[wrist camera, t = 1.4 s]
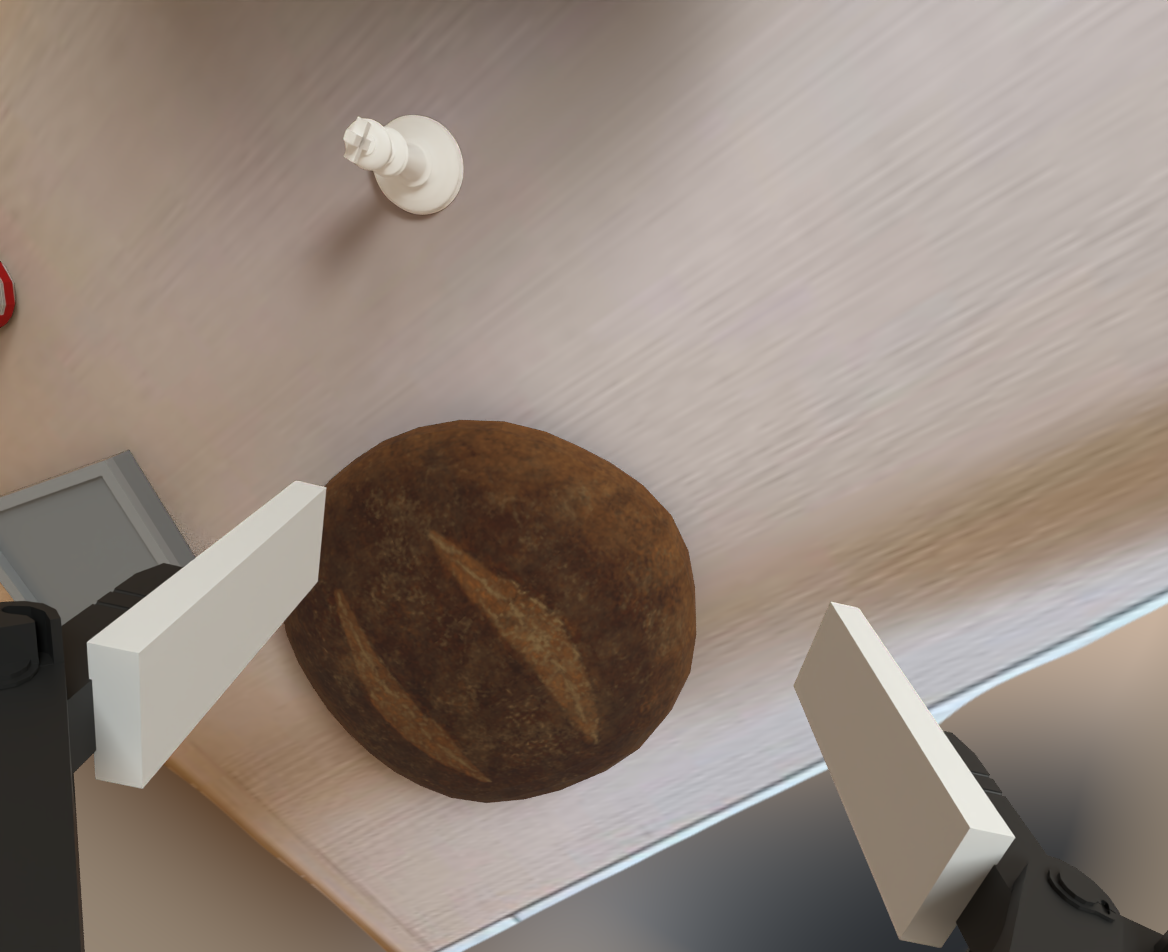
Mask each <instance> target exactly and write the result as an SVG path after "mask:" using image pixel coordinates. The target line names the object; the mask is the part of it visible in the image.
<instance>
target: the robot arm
mask: <svg viewBox="0 0 1168 952" xmlns="http://www.w3.org/2000/svg"><path fill="white" fill-rule="evenodd" d="M325 497H326V487H323V486H318V485H314V484H310V483H305V482H301V481H294V482H293V483H292V484H290V485H289V486H288V487H286V488H285V489H284V490H283V491H281V492H280V493H279V494H277V495H276V496H275V497H274V498H272V499H271V500H270V501H268V502H267V503H266V504H265V505H263V506H262V507H261V508H259V509H258V510H257V511H255V512H254V513H253V514H252V515H250V516H249V517H248V518H246V519H245V520H244V521H243V522H241V523H240V524H239V525H237V526H236V527H235V528H234V529H232V530H231V531H230V532H228V533H227V534H226V535H225V536H223V537H222V538H221V539H219V540H218V541H217V542H215V543H214V544H213V545H212V546H210V547H209V548H208V549H206V550H205V551H204V552H203V553H201V554H200V555H199V556H197V557H196V558H195V559H194V560H192V561H191V562H190V563H188V564H187V565H186V566H185V567H180V566H176V565H171V564H166V563H162V564H160V565H157V566H154V567H151V568H149V569H146V570H143V571H141V572H138V573H135V574H134V575H133V576H131V577H130V578H128V579H127V580H125V581H124V582H123V583H121V584H120V585H118V586H117V587H116V588H114V591H113V592H111V591H110V592H109V593H107V594H106V595H104V596H103V597H101V598H100V599H99V600H97V603H96V604H92V605H90V606H89V607H87V608H86V609H85V610H83V611H82V612H80V613H79V614H78V615H76V616H75V617H73V618H72V619H70V620H69V621H68V622H66V623H65V624H63V625H62V626H61V617H60V616H59V614H58V612H57V610H56V609H54V608H52V607H50V606H48V605H46V604H44V603H38V602H30V601H12V602H0V952H85V949H84V935H83V934H84V933H83V917H82V900H81V885H80V868H79V852H78V836H77V819H76V803H75V787H74V774H73V773H74V772H75V771H76V770H77V769H78V768H79V767H80V766H81V765H82V764H83V763H84V762H85V761H86V760H87V759H88V758H89V757H90V756H91V755H92V754H93V753H94V764H95V779H97V780H102V781H107V782H112V783H117V784H122V785H127V786H132V787H137V788H142V789H143V788H144V786H145V785H146V784H147V783H148V782H149V781H150V779H151V778H152V777H153V776H154V775H155V773H156V772H157V771H158V770H159V769H160V768H161V766H162V765H163V764H164V763H165V762H166V760H167V759H168V758H169V757H170V756H171V755H172V753H173V752H174V751H175V750H176V749H177V747H178V746H179V745H180V744H181V743H182V742H183V740H184V739H185V738H186V737H187V736H188V734H189V733H190V732H191V731H192V730H193V729H194V727H195V726H196V725H197V724H198V723H199V721H200V720H201V719H202V718H203V717H204V716H205V714H206V713H207V712H208V711H209V710H210V708H211V707H212V706H213V705H214V704H215V702H216V701H217V700H218V699H219V698H220V697H221V695H222V694H223V693H224V692H225V691H226V689H227V688H228V687H229V686H230V685H231V684H232V682H233V681H234V680H235V679H236V678H237V676H238V675H239V674H240V673H241V672H242V671H243V669H244V668H245V667H246V666H247V665H248V663H249V662H250V661H251V660H252V659H253V658H254V656H255V655H256V654H257V653H258V652H259V650H260V649H261V648H262V647H263V646H264V644H265V643H266V642H267V641H268V640H269V639H270V637H271V636H272V635H273V634H274V633H275V631H276V630H277V629H278V628H279V627H280V626H281V624H282V623H283V622H284V621H285V620H286V618H287V617H288V616H289V615H290V614H291V613H292V611H293V610H294V609H295V608H296V607H297V605H298V604H299V603H300V602H301V601H302V600H303V598H304V597H305V596H306V595H307V594H308V592H309V591H310V590H311V589H312V588H313V586H314V585H315V584H316V583H317V582H318V573H319V562H320V552H321V541H322V530H323V519H324V508H325ZM794 688H795V690H796V693H797V695H798V698H799V700H800V702H801V705H802V707H803V710H804V712H805V714H806V717H807V719H808V722H809V724H810V726H811V729H812V731H813V733H814V736H815V738H816V741H817V743H818V745H819V748H820V750H821V753H822V755H823V757H824V760H825V762H826V765H827V767H828V769H829V772H830V774H831V776H832V779H833V781H834V784H835V786H836V788H837V791H838V793H839V796H840V798H841V800H842V803H843V805H844V808H845V810H846V812H847V815H848V817H849V819H850V822H851V824H852V827H853V829H854V832H855V834H856V836H857V839H858V841H859V843H860V846H861V848H862V851H863V853H864V855H865V858H866V860H867V863H868V865H869V867H870V870H871V872H872V874H873V877H874V879H875V882H876V884H877V887H878V889H879V891H880V894H881V896H882V899H883V901H884V903H885V905H886V908H887V910H888V913H889V915H890V918H891V920H892V923H893V925H894V927H895V930H896V932H897V934H898V937H899V939H900V940H904V941H909V942H914V943H919V944H924V945H929V946H934V947H939V948H941V947H942V946H943V944H944V942H945V941H946V940H947V938H948V937H949V935H950V934H951V932H952V931H953V929H954V928H955V926H956V925H958V927H959V929H960V931H961V933H962V935H963V937H964V939H965V941H966V943H967V945H968V946H969V948H968V949H967V951H966V952H1168V931H1167V932H1166V933H1165V934H1164V935H1162V934H1160V933H1157V932H1155V931H1153V930H1151V929H1149V928H1146V927H1144V926H1142V925H1140V924H1138V923H1136V922H1134V921H1131V920H1129V919H1127V918H1125V917H1123V916H1121V915H1120V913H1119V911H1118V910H1117V908H1116V907H1115V905H1114V904H1113V902H1112V901H1111V899H1110V898H1109V897H1108V895H1107V894H1106V893H1105V892H1103V890H1102V889H1101V888H1100V887H1099V886H1098V885H1097V884H1096V883H1095V882H1094V881H1092V880H1091V879H1090V878H1089V877H1087V876H1086V875H1085V874H1083V873H1082V872H1081V871H1079V870H1078V869H1077V868H1075V867H1073V866H1071V865H1069V864H1067V863H1066V862H1064V861H1062V860H1060V859H1057V858H1054V857H1051V856H1047V854H1046V853H1045V852H1044V850H1043V849H1042V847H1041V846H1040V845H1039V843H1038V842H1037V840H1036V839H1035V837H1034V836H1033V835H1032V833H1031V832H1030V830H1029V829H1028V828H1027V826H1026V825H1025V824H1024V822H1023V821H1022V819H1021V818H1020V816H1019V815H1018V814H1017V812H1016V811H1015V810H1014V808H1013V807H1012V805H1011V804H1010V802H1009V801H1008V800H1007V798H1006V797H1004V796H1002V791H1001V790H1000V789H999V787H998V786H997V785H996V783H995V781H994V780H993V779H990V778H989V775H990V774H989V773H988V772H987V771H986V769H985V767H984V766H983V765H982V763H981V762H980V761H979V759H978V758H977V756H976V755H975V754H974V753H973V752H972V751H971V750H970V749H969V748H968V747H967V746H966V745H965V744H964V743H963V742H961V741H960V740H959V739H958V738H957V737H956V736H955V735H954V734H953V733H950V732H946V731H942V729H941V728H940V726H939V725H938V723H937V722H936V720H935V719H934V718H933V716H932V715H931V713H930V712H929V710H928V709H927V707H926V706H925V704H924V703H923V701H922V700H921V698H920V697H919V696H918V694H917V693H916V691H915V690H914V688H913V687H912V685H911V684H910V682H909V681H908V679H907V678H906V677H905V675H904V674H903V672H902V671H901V669H900V668H899V666H898V665H897V663H896V662H895V660H894V659H893V657H892V656H891V655H890V653H889V652H888V650H887V649H886V647H885V646H884V644H883V643H882V641H881V640H880V638H879V637H878V636H877V634H876V633H875V631H874V630H873V628H872V627H871V625H870V624H869V622H868V621H867V619H866V618H865V616H864V615H863V614H862V612H861V611H860V609H859V608H857V607H852V606H848V605H843V604H839V603H835V602H830V604H829V606H828V609H827V611H826V613H825V615H824V618H823V620H822V622H821V624H820V627H819V629H818V631H817V633H816V636H815V638H814V640H813V643H812V645H811V647H810V649H809V652H808V654H807V656H806V658H805V661H804V663H803V665H802V668H801V670H800V672H799V674H798V677H797V679H796V681H795V683H794Z"/></svg>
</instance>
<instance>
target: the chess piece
mask: <svg viewBox="0 0 1168 952" xmlns="http://www.w3.org/2000/svg"><path fill="white" fill-rule="evenodd" d="M343 140H344V141H345V148H346V151H345V154H344V158H346V159H348V160H350V161H352V162H353V163H354V164H355V165H357V166H358V167H360V168H362V169H365V170H372V171H373V172H374V175H375V178H376V181H377V183H378V185H379V187H380V189H381V190H382V192H383V193H384V194H385V195H386V197H387V198H388V199H389V200H390V201H391V202H393V203H394V204H395V205H397V206H398V207H399V208H401V209H403V210H405V211H407V212H410V213H413V214H419V215H427V214H432V213H436V212H438V211H440V210H442V209H444V208H445V207H447V206H448V205H449V204H450V203H451V202H452V201H453V200H454V198H455V197H456V195H457V194H458V192H459V190H460V187H461V184H462V180H463V171H464V168H463V159H462V154H461V151H460V148H459V146H458V144H457V142H456V140H455V139H454V137H453V136H452V134H451V133H450V132H449V131H448V130H447V129H446V128H445V127H444V126H443V125H441V124H440V123H439V122H437V121H435V120H433V119H431V118H428V117H425V116H419V115H406V116H402V117H399V118H396V119H394V120H392V121H391V122H390V123H388V124H387V125H386V126H385V127H383V126H382V125H381V124H380V123H378V122H377V121H375V120H372V119H368V118H361V117H359V116H358V117H357V120H356V121H354V122H353V123H352V124H351V125H350V126H349V127H348V129H346V132H345V135H344V138H343Z"/></svg>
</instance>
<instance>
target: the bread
mask: <svg viewBox="0 0 1168 952" xmlns="http://www.w3.org/2000/svg"><path fill="white" fill-rule="evenodd" d="M325 487H326V497H325V508H324V519H323V530H322V541H321V552H320V562H319V573H318V582H317V583H316V584H315V585H314V586H313V588H312V589H311V590H310V591H309V592H308V594H307V595H306V596H305V597H304V598H303V600H302V601H301V602H300V603H299V604H298V605H297V607H296V608H295V609H294V610H293V611H292V613H291V614H290V615H289V616H288V617H287V618H286V620H285V621H284V623H285V628H286V633H287V636H288V638H289V641H290V643H291V646H292V648H293V650H294V653H295V655H296V658H297V660H298V662H299V664H300V666H301V667H302V669H303V671H304V673H305V674H306V676H307V678H308V679H309V681H310V683H311V685H312V686H313V688H314V689H315V691H316V692H317V694H318V695H319V697H320V698H321V700H322V701H323V702H324V704H325V705H326V707H327V708H328V710H329V711H330V712H331V713H332V714H333V716H334V717H335V718H336V719H337V720H338V721H339V722H340V724H341V725H342V726H343V727H344V728H345V729H346V730H347V732H348V733H349V734H350V735H351V736H352V737H354V738H355V739H356V740H357V741H358V742H359V743H360V744H361V745H362V746H363V747H364V748H365V749H366V750H368V751H369V752H370V753H371V754H372V755H373V756H375V757H376V758H377V759H379V760H380V761H381V762H383V763H384V764H385V765H387V766H388V767H389V768H390V769H392V770H393V771H394V772H396V773H398V774H400V775H402V776H404V777H406V778H407V779H409V780H411V781H413V782H415V783H417V784H418V785H420V786H423V787H425V788H428V789H430V790H433V791H436V792H438V793H441V794H443V795H446V796H448V797H451V798H457V799H464V800H471V801H477V802H484V803H490V802H501V801H511V800H522V799H527V798H531V797H535V796H539V795H543V794H547V793H551V792H555V791H559V790H562V789H564V788H566V787H569V786H571V785H573V784H576V783H578V782H581V781H583V780H585V779H588V778H590V777H592V776H595V775H597V774H599V773H602V772H604V771H606V770H608V769H609V768H611V767H612V766H614V765H615V764H617V763H618V762H620V761H621V760H623V759H624V758H626V757H627V756H629V755H630V754H632V753H633V752H635V751H636V750H638V749H639V748H640V747H641V746H642V745H643V743H644V742H645V741H646V740H647V739H648V737H649V736H650V735H651V734H652V733H653V732H654V730H655V729H656V728H657V727H658V726H659V724H660V723H661V722H662V721H663V720H664V719H665V717H666V716H667V715H668V713H669V712H670V711H671V710H672V708H673V706H674V704H675V702H676V700H677V698H678V696H679V694H680V692H681V690H682V688H683V686H684V684H685V682H686V680H687V678H688V676H689V674H690V670H691V664H692V658H693V651H694V645H695V639H696V609H695V585H694V580H693V574H692V569H691V563H690V558H689V552H688V549H687V547H686V545H685V543H684V541H683V539H682V536H681V534H680V532H679V530H678V528H677V526H676V524H675V522H674V520H673V518H672V516H671V514H670V513H669V512H668V511H667V510H666V509H665V508H664V507H663V506H662V505H661V504H660V503H659V502H658V501H657V500H656V499H655V497H654V496H653V495H652V494H651V493H650V492H649V491H648V490H647V489H646V488H645V487H644V486H643V485H642V484H641V483H639V482H638V481H637V480H635V479H634V478H632V477H631V476H629V475H628V474H626V473H625V472H623V471H622V470H620V469H619V468H617V467H616V466H614V465H613V464H611V463H610V462H608V461H606V460H604V459H602V458H600V457H598V456H597V455H595V454H593V453H591V452H589V451H587V450H585V449H583V448H581V447H579V446H577V445H575V444H572V443H570V442H568V441H566V440H563V439H561V438H559V437H556V436H554V435H552V434H550V433H547V432H544V431H540V430H536V429H532V428H528V427H524V426H520V425H516V424H512V423H508V422H503V421H475V420H457V421H452V422H446V423H441V424H435V425H429V426H424V427H418V428H416V429H413V430H411V431H408V432H406V433H403V434H400V435H398V436H395V437H393V438H390V439H388V440H385V441H383V442H381V443H380V444H378V445H377V446H375V447H374V448H372V449H370V450H369V451H367V452H366V453H364V454H363V455H361V456H360V457H358V458H357V459H355V460H354V461H353V462H351V463H350V464H349V465H348V466H347V467H345V468H344V469H343V470H342V471H340V472H339V473H338V474H337V475H336V476H334V477H333V478H332V479H331V480H330V481H329V482H328V483H327V484H326V486H325Z"/></svg>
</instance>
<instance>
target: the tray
mask: <svg viewBox="0 0 1168 952" xmlns="http://www.w3.org/2000/svg"><path fill="white" fill-rule="evenodd" d="M194 559H195V556H194V555H193V553H192V551H191V550H190V548H189V546H188V545H187V543H186V542H185V540H184V538H183V537H182V535H181V533H180V532H179V530H178V529H177V527H176V525H175V524H174V522H173V520H172V519H171V517H170V516H169V514H168V512H167V511H166V509H165V507H164V506H163V504H162V503H161V501H160V499H159V498H158V496H157V495H156V493H155V491H154V490H153V488H152V486H151V485H150V483H149V482H148V480H147V478H146V477H145V475H144V473H143V472H142V470H141V469H140V467H139V465H138V464H137V462H136V460H135V459H134V457H133V456H132V454H131V452H130V451H129V450H127V451H124V452H122V453H119V454H116V455H113V456H110V457H108V458H105V459H102V460H99V461H96V462H94V463H91V464H88V465H85V466H82V467H80V468H77V469H74V470H71V471H68V472H66V473H63V474H60V475H57V476H54V477H52V478H49V479H46V480H43V481H40V482H38V483H35V484H32V485H29V486H26V487H24V488H21V489H18V490H15V491H12V492H10V493H7V494H4V495H1V496H0V582H1V584H2V585H3V586H4V588H5V589H6V590H7V592H8V593H9V594H10V596H11V597H12V598H13V600H14V601H30V602H38V603H44V604H46V605H48V606H50V607H52V608H54V609H56V610H57V612H58V614H59V616H60V617H61V626H62V625H63V624H65V623H66V622H68V621H69V620H70V619H72V618H73V617H75V616H76V615H78V614H79V613H80V612H82V611H83V610H85V609H86V608H87V607H89V606H90V605H92V604H96V603H97V600H99V599H100V598H101V597H103V596H104V595H106V594H107V593H109V592H110V591H111V592H113V591H114V588H116V587H117V586H118V585H120V584H121V583H123V582H124V581H125V580H127V579H128V578H130V577H131V576H133V575H134V574H135V573H138V572H141V571H143V570H146V569H149V568H151V567H154V566H157V565H160V564H162V563H166V564H171V565H176V566H180V567H185V566H186V565H187V564H188V563H190V562H191V561H192V560H194Z"/></svg>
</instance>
